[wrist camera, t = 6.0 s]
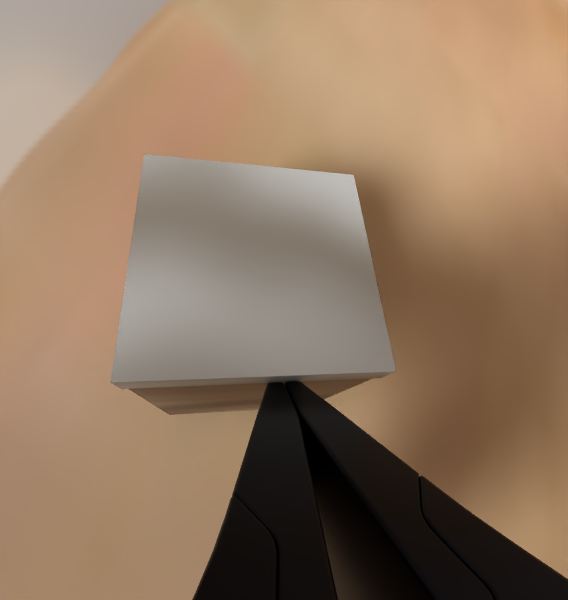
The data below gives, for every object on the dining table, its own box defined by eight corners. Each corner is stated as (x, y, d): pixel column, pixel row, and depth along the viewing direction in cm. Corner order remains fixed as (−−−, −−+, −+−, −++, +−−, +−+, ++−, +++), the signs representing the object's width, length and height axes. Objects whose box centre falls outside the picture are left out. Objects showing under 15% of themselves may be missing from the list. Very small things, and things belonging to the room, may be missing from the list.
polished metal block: (307, 407, 15) (396, 371, 7) (168, 416, 13) (111, 382, 6) (295, 289, 17) (353, 174, 10) (177, 286, 16) (143, 154, 9)
